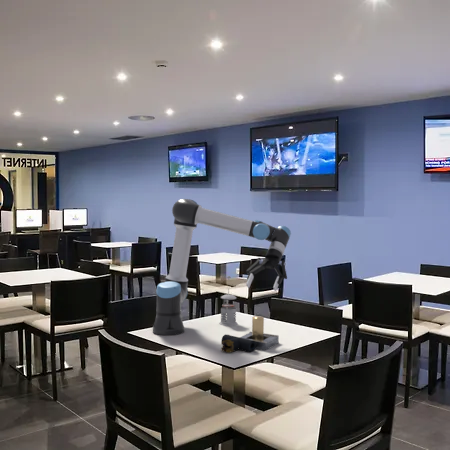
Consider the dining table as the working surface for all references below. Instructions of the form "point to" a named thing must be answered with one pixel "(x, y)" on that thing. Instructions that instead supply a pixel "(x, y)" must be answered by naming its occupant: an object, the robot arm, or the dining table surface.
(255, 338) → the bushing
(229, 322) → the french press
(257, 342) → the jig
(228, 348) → the pipe connector
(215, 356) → the dining table surface
